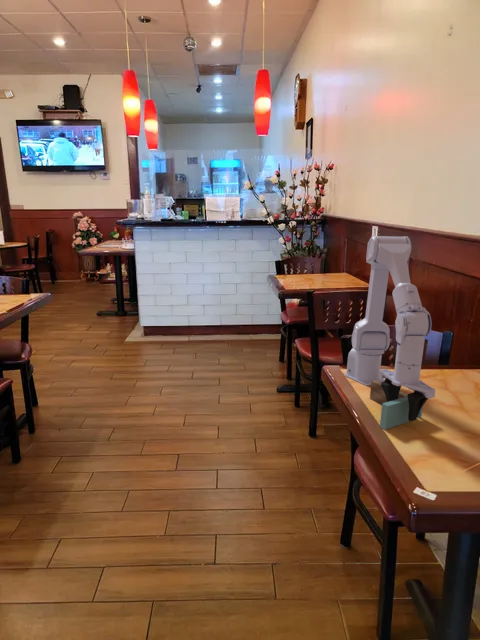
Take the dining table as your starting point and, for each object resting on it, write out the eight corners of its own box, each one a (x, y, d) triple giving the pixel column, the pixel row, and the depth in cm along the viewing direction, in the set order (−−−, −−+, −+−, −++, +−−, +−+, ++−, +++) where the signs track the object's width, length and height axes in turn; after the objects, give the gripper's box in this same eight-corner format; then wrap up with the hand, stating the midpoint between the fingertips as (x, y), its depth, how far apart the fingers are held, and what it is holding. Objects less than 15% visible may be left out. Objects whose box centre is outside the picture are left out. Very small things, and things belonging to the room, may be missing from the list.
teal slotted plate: (379, 427, 108) (382, 403, 106) (415, 414, 114) (418, 392, 113) (384, 429, 106) (387, 406, 105) (421, 417, 113) (424, 395, 111)
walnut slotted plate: (369, 398, 123) (371, 381, 122) (373, 397, 124) (375, 380, 123) (402, 414, 114) (405, 396, 113) (407, 413, 115) (409, 394, 114)
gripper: (372, 355, 110) (367, 406, 114) (423, 374, 98) (416, 431, 102) (392, 350, 114) (387, 401, 117) (444, 369, 102) (436, 424, 105)
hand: (401, 414), depth 110 cm, fingers open, 5 cm apart
